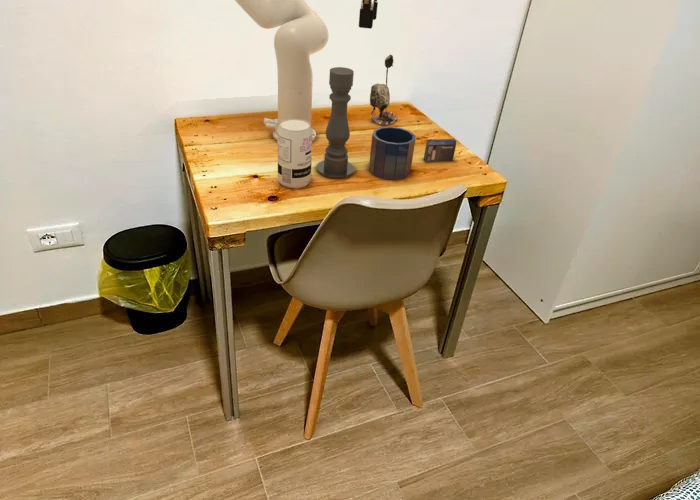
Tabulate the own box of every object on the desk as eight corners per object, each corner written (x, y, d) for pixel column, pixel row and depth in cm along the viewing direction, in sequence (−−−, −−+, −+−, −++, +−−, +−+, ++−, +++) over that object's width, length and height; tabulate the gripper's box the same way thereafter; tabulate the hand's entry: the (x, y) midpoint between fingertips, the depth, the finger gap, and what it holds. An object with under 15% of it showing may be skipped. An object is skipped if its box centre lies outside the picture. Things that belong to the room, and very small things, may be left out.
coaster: (313, 176, 134) (313, 173, 134) (320, 159, 142) (320, 156, 142) (351, 181, 134) (352, 178, 133) (356, 164, 142) (356, 161, 141)
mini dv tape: (425, 162, 146) (428, 142, 143) (423, 159, 147) (426, 139, 144) (452, 161, 148) (456, 141, 144) (450, 158, 149) (454, 138, 146)
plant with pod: (360, 119, 168) (365, 54, 157) (388, 114, 174) (396, 51, 162) (374, 128, 163) (381, 62, 151) (403, 123, 168) (412, 59, 157)
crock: (366, 177, 136) (370, 141, 130) (371, 158, 145) (374, 124, 139) (409, 182, 135) (414, 146, 130) (410, 163, 144) (416, 129, 139)
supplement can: (280, 172, 134) (279, 116, 126) (312, 175, 135) (314, 119, 126) (275, 188, 128) (274, 129, 119) (309, 190, 128) (311, 133, 119)
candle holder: (339, 175, 134) (345, 76, 120) (319, 167, 137) (323, 70, 122) (351, 166, 139) (359, 70, 124) (332, 159, 141) (337, 65, 127)
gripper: (362, -63, 125) (356, 14, 135) (353, -56, 111) (347, 29, 121) (393, -60, 124) (385, 17, 134) (388, -53, 110) (379, 33, 120)
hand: (367, 23), depth 128 cm, fingers open, 9 cm apart
